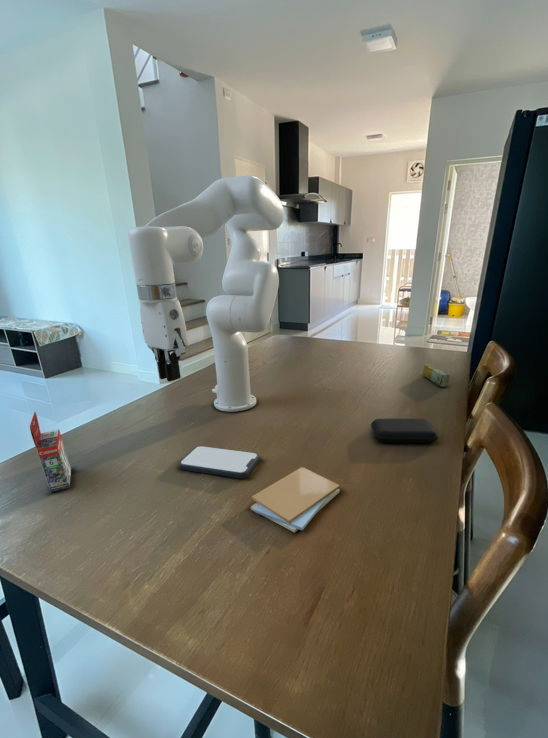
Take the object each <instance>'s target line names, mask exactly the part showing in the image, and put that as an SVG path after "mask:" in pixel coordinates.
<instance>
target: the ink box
mask: <svg viewBox="0 0 548 738" xmlns="http://www.w3.org/2000/svg"><path fill="white" fill-rule="evenodd" d="M29 431H30V435H31V438H32V441H33V444H34V446H35V449H36V453H37V456H38V458H39V462H40V465H41V468H42V471H43V474H44V477H45V479H46V483H47V487H48V490H49V492H50V493H53V492H57V491H61V490H65V489H69V488H70V487H71V475H72V467H71V465H70V461H69V458H68V454H67V451H66V447H65V445H64V441H63V438H62V435H61V432H60V429H55V430H48V431H43V432H41V429H40V424H39V420H38V416H37V412H36V411H34V412H33V415H32V418H31V421H30V424H29Z"/></svg>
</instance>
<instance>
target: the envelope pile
mask: <svg viewBox="0 0 548 738" xmlns="http://www.w3.org/2000/svg"><path fill="white" fill-rule="evenodd" d="M340 487H341V485H340V484H338V483H336V482H335V481H332V480H330V479H328V478H326V477H324V476H323V475H320V474H318V473H316V472H313V471H311V470H310V469H308V468H307V467H303V466H301V467H299V468H298V469H296V470H294V471H292V472H291V473H289V474H287V475H286V476H284V477H282V478H281V479H279V480H277V481H275V482H274V483H273V484H271V485H269V486H267V487H266V488H263V489H262V490H260V491H259V492H257V493H255V494H254V495H252V496H251V500H252V501H254V502H255V503H254V504H253V505H250V510H251V511H253V512H254V513H255V514H258V515H261V516H262V517H264V518H266V519H268V520H270V521H272V522H274V523H275V524H278V525H280V526H281V527H283V528H285V529H287V530H288V531H291V532H293V533H294V534H295V533H296V532H298V531H304V529H305V528H306V527H307V526H308V524H309V523H310V522H311V520H312V519H313V518H314V517H315V516H316V515H317V514H318V513H319V512H320V511H321V510H322V509H323V508H324V507H325V506H326V505H327V504H328V503H330V501H331V500H332V499H334V498H335V497H336V496H337V495H338V494H340V492H341V490H340Z"/></svg>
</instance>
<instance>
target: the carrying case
mask: <svg viewBox="0 0 548 738" xmlns="http://www.w3.org/2000/svg"><path fill="white" fill-rule="evenodd" d="M370 428H371V431H372V434H373V437H374V439H375V440H376V441H377V442H378V443H383V444H432V443H435V442H436V441H437V440H438V439H439V433H438V432H437V430H436V429H435V428H434V426H433V425H432V423H431V422H430V421H429V420H428V419H426V418H400V417H399V418H397V417H396V418H394V417H393V418H391V417H390V418H388V417H387V418H375V419H374V420H373V421H372V422H371V423H370Z"/></svg>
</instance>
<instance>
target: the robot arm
mask: <svg viewBox="0 0 548 738" xmlns="http://www.w3.org/2000/svg"><path fill="white" fill-rule="evenodd" d="M284 218H285V211H284V206H283V203H282V201H281V199H280V198H279V196H278V195H277V194H276V193H275V192H274V191H273V190H272V189H271V188H270V187H269V186H268V185H267V183H265V182H264V181H263V180H261V179H260V178H259V177H257V176H254V175H251V174H247V175H238V176H229V177H222V178H219V179H216V180H215V181H213V182H212V183H211V184H210V185H209V186H207V188H205V189H204V190H203V191H202V192H200V194H198V195H197V196H196V197H195V198H193V199H191V200H189V201H187V202H184V203H182V204H180V205H178V206H176V207H174V208H171V209H169V210H167V211H165V212H163V213H161V214H159V215H157V216H155V217H154V218H153V219H151V220H150V221H149V222H148V223H146V224H145V225H144V226H135V227H132V228H131V227H130V229H129V231H128V233H127V238H128V244H129V249H130V256H131V261H132V262H131V263H132V267H133V273H134V279H135V285H136V292H137V296H138V297H137V298H138V302H139V311H140V312H139V313H140V322H141V329H142V335H143V340H144V343H145V344H146V345H147V348H148V349H150V351H152V353H153V355H154V360H155V361H156V365H157V371H158V376H159V379H160V380H165V379H166V381H167V382H168V383H171V382H174V381H177V380H179V379H181V377H182V376H181V370H180V363H179V362H180V361H181V356H184V355H186V353H187V352H186V349H185V348H186V347H188V345H189V336H188V331H187V326H186V321H185V315H184V312H183V309H182V306H181V303H180V300H179V299H178V294H177V288H176V287H177V286H176V279H175V271H174V266H187V265H193V264H195V263H196V262H198V261H199V260H200V259H201V258H202V256H203V253H204V242H203V239H204V238H208V237H210V236H213V235H216V234H217V233H219V231H220V230H222V229H223V227H224V226H225V225H226V228H227V231H228V235H229V239H230V245H231V247H230V248H231V249H230V252H229V255H228V259H227V262H226V265H225V268H224V272H223V275H222V279H221V285H222V290H223V291H224V292H225V293H226V294H221V295H217V296H214V297H212V298H211V299H210V300H209V301H208V302H207V304H206V308H205V316H206V319H207V323H208V326H209V330H210V334H211V339H212V345H213V354H214V365H215V375H216V384H215V386H214V388H212V389H211V393H213V394H216V398H215V399H214V400H213V406H214V408H215V409H217V410H218V411H221V412H227V413H234V412H235V413H236V412H244V411H246V410H249V409H252V408H254V406H256V405H257V398H256V396H255V395H254V394H252V393H251V379H250V378H251V377H250V366H249V365H250V363H249V347H248V342H247V341H246V338H245V336H244V335H243V333H262V332H265V330H266V329H267V328H268V326H269V324H270V321H271V317H272V314H273V310H274V307H275V302H276V300H277V299H276V298H277V295H278V290H279V286H280V277H279V276H280V275H279V271H278V269H277V267H276V266H275V264H273V263H272V262H270V261H266V260H265V261H264V260H260V259H261V254H262V253H261V248H260V246H259V243H258V242H257V241H256V240H255V239H254V238H253V236H252V234H251V232H258V231H274V230H277V229H279V228H280V227H281V226H282V224H283V222H284Z"/></svg>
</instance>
